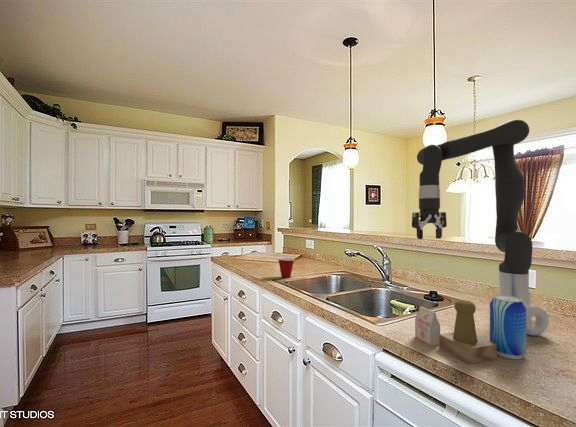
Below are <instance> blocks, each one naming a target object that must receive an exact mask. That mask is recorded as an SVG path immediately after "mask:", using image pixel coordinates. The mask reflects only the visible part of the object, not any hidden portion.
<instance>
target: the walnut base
mask: <svg viewBox="0 0 576 427" xmlns="http://www.w3.org/2000/svg"><path fill="white" fill-rule="evenodd" d="M453 334H454V331H453V332H447V333H440V334H439V345H438V347H439V349H441V350H442V351H444V352H446V353H448V354H449V355H452V356H453V357H455V358H456V359H459V360H460V361H462V363H465V364H467V365H470V364H475V363H476V364H477V363H481V362H486V361H492V360H493V361H494V360H497V359H498V358H497V344H494V343H492V342H490V340H488V339H486V338H483V337H481V336H479V335H477V343H475V344H466V343H462V342H459V341H457V340H455V339H454V338H453Z"/></svg>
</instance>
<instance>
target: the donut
mask: <svg viewBox="0 0 576 427" xmlns="http://www.w3.org/2000/svg"><path fill="white" fill-rule="evenodd" d="M534 316H535V321H534V323H532V324H531V319H532V318H533V317H534ZM549 323H550V319H549V315H548V313H547V311H546V310H545V309H544V308H543V307H541V306H539V305H537V304H536V305H535V304H530V305H529V306H526V335H529V336H532V337H533V336H534V337H536V336H540V335H542V334H543V333H545V332H546V331H547V329H548V328H549Z"/></svg>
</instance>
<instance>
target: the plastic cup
mask: <svg viewBox="0 0 576 427" xmlns="http://www.w3.org/2000/svg"><path fill="white" fill-rule="evenodd" d="M277 260H278V264H279V271H280V276H281V278H282V277H284V278H283V279H291V277H292V273H293V272H292V271H293V266H294V262H295V261H296V259H295V258H292V257H278V258H277Z"/></svg>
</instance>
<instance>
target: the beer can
mask: <svg viewBox="0 0 576 427" xmlns="http://www.w3.org/2000/svg"><path fill="white" fill-rule="evenodd" d="M489 341H490V342H492V343H494V344H497V355H498V356H500V357H502V358H506V359H510V360H521V359H523V358H524V357H525V356H526V355H527V334H526V307H525V306H524V304H523V303H522V299H520V298H518V297H514V296H509V295H499V294H495V295H493V298H492V299H491V301H490V302H489Z"/></svg>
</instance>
